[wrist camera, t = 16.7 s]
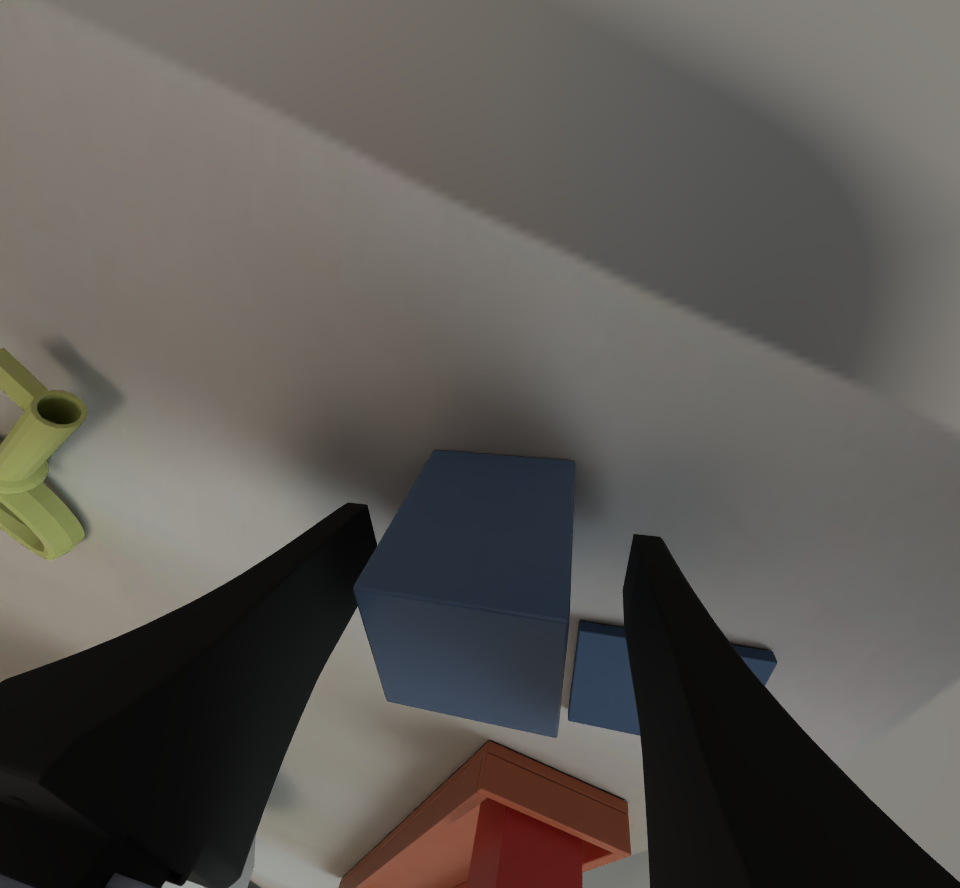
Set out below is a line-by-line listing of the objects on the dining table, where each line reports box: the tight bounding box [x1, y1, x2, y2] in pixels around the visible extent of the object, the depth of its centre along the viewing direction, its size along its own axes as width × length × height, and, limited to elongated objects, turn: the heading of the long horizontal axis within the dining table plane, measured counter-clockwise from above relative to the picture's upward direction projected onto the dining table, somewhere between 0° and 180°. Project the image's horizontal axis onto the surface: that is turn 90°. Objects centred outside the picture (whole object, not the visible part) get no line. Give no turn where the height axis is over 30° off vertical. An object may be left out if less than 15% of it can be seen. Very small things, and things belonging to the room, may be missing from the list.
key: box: [0, 348, 87, 560], centre depth 15 cm, size 7×12×2 cm, turn 140°
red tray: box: [339, 741, 631, 888], centre depth 31 cm, size 41×8×2 cm, turn 158°
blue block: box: [353, 450, 575, 738], centre depth 10 cm, size 4×4×5 cm
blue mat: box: [568, 621, 777, 735], centre depth 15 cm, size 6×6×1 cm
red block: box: [466, 797, 583, 888], centre depth 19 cm, size 4×4×5 cm
